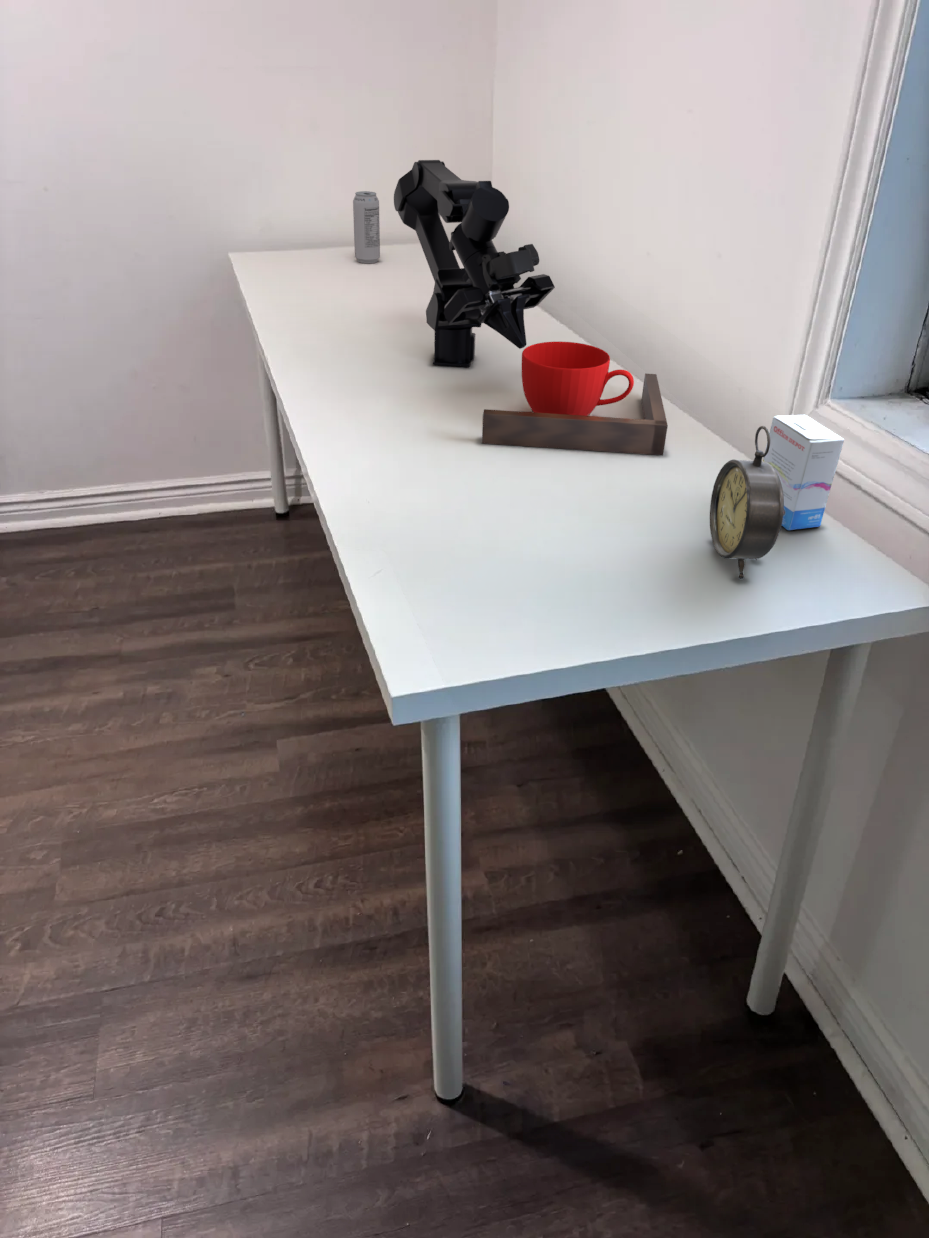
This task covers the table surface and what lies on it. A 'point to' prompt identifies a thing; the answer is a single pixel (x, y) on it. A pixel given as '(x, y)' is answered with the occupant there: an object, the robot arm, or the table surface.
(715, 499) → the alarm clock
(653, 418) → the corner guide
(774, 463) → the ink box
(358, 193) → the energy drink can
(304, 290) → the table surface
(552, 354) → the ceramic cup
